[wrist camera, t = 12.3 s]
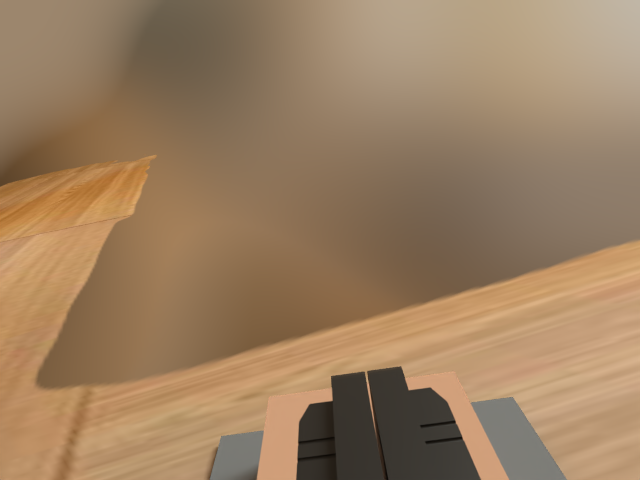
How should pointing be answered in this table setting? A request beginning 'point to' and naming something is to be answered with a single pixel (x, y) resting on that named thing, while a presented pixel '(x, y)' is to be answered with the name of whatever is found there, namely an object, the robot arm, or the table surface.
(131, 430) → the table surface
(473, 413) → the peach rectangular block
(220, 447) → the mat
